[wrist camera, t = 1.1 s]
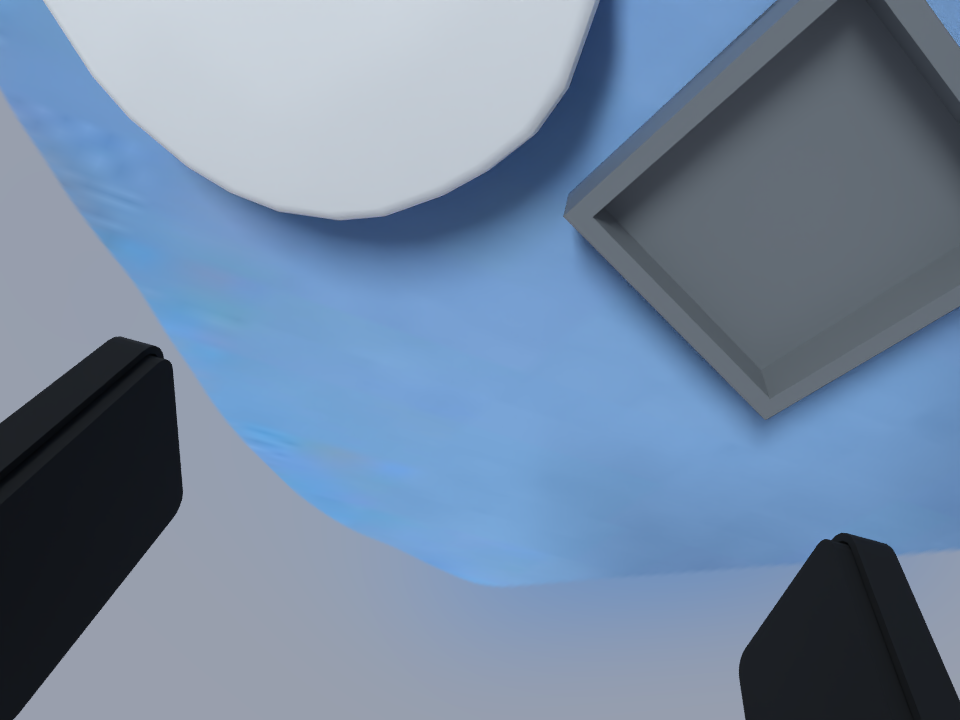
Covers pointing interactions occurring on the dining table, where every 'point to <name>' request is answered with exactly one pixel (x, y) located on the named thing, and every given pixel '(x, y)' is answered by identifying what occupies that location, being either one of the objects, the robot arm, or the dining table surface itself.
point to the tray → (795, 195)
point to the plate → (333, 89)
